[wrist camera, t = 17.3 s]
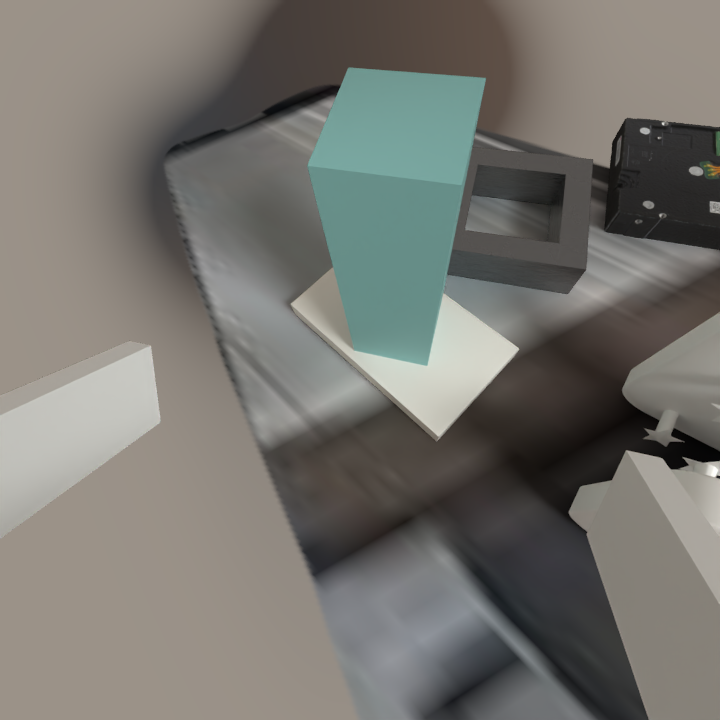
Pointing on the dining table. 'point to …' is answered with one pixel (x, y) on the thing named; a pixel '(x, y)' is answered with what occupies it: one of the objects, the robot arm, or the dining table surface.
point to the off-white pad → (409, 380)
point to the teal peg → (394, 200)
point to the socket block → (518, 255)
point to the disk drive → (665, 183)
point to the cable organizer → (676, 415)
